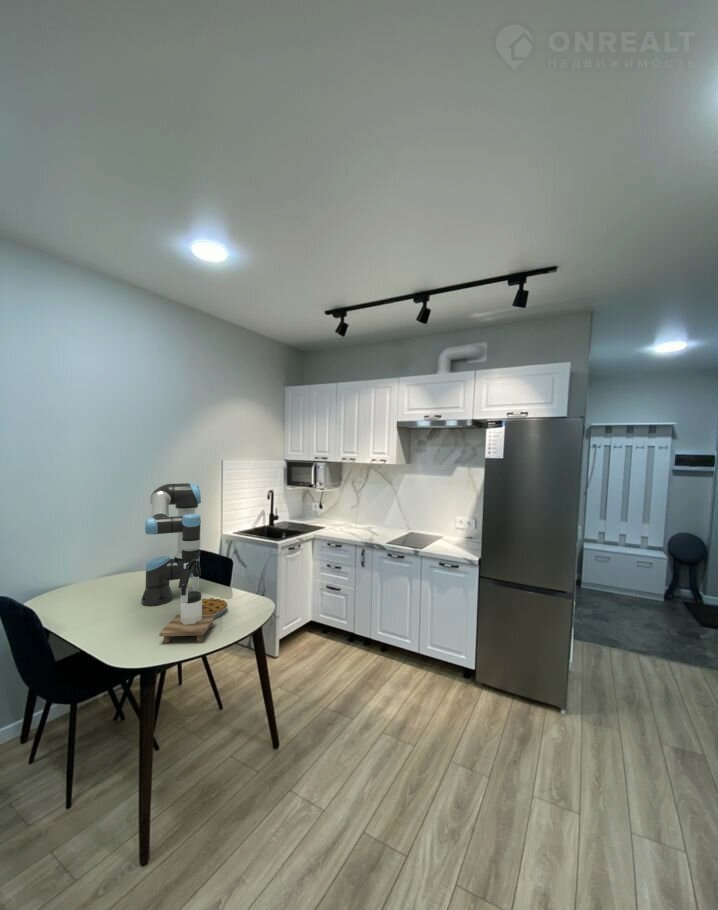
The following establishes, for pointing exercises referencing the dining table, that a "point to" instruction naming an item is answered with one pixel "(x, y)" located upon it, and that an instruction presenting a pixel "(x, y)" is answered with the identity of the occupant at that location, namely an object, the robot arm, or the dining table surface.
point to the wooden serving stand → (188, 628)
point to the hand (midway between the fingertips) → (190, 596)
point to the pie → (213, 606)
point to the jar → (191, 609)
